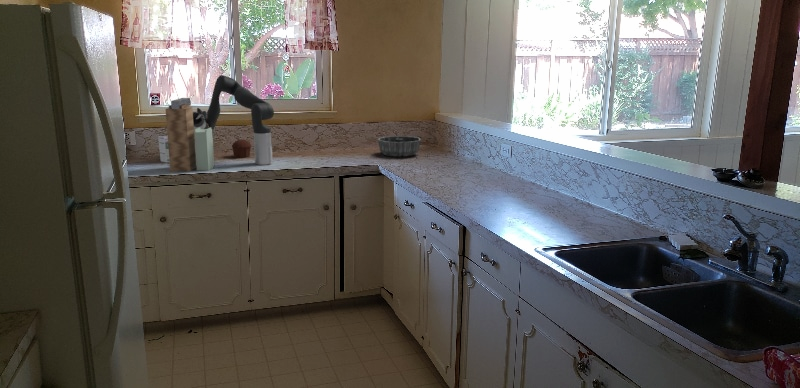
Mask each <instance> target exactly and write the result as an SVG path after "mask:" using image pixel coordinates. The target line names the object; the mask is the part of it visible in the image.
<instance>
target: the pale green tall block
mask: <svg viewBox="0 0 800 388" xmlns="http://www.w3.org/2000/svg"><path fill="white" fill-rule="evenodd" d="M213 138H214V137H213V136H212V129H211V127H210V128H209V127H208V129H200V127H199V128H197V129H195V128H194V139H195V154H196V171H210V170H211V169H213V168H214V167H215V159H214V158H215V157H214V156H215V155H214V154H215V153H214V141H213Z"/></svg>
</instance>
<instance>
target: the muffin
mask: <svg viewBox="0 0 800 388" xmlns="http://www.w3.org/2000/svg"><path fill="white" fill-rule="evenodd" d="M231 148H232V152H233V156H234V158H235V159H238V158H239V159H245V158H246V159H247V158H250V156H251V149H252V144H251V143H250V141H248V140H247V139H243V138H241V139H237V140H234V142H233V143H232V145H231Z"/></svg>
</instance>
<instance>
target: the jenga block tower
mask: <svg viewBox="0 0 800 388" xmlns="http://www.w3.org/2000/svg"><path fill="white" fill-rule="evenodd" d="M180 107H181V109H172V108H171V104H170V105H168V107H167V108H165V119H166V120H165V121H166V133H167V134H166V135H168V148H169V161H170V162H169V171H170V172H192V171H193V170H194V169H196V168H197V163H196V149H195V134H194V130H195V128H194V125H193V113H194V111H193V106H189V104H185V105H182V106H180Z"/></svg>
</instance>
